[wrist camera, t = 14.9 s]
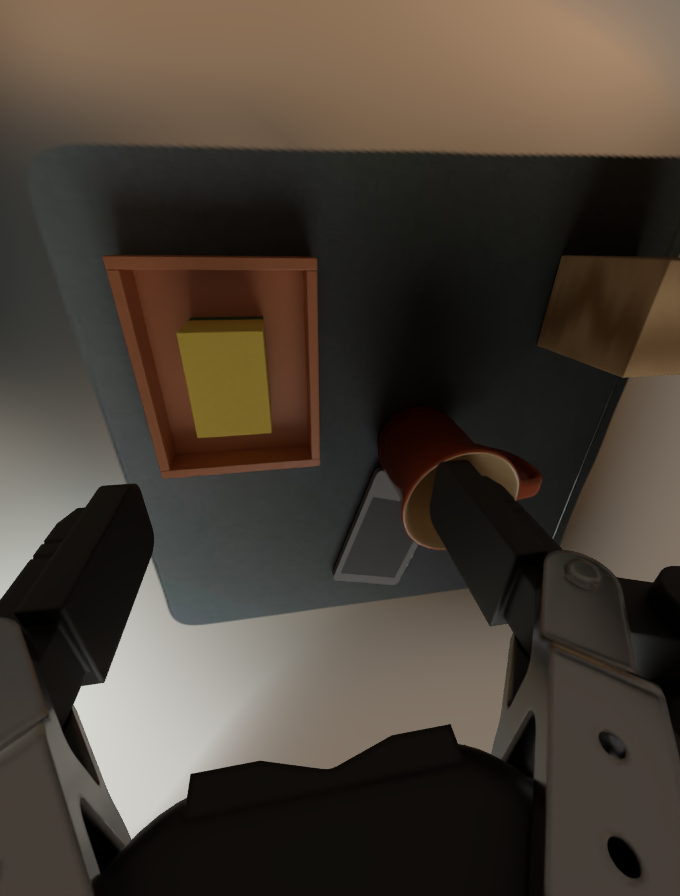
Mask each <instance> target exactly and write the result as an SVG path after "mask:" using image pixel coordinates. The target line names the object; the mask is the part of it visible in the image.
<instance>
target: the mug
mask: <svg viewBox="0 0 680 896" xmlns="http://www.w3.org/2000/svg"><path fill="white" fill-rule="evenodd" d="M378 455H379V459H380V463H381V466H382V468H383V470H384V472H385V473H386V475H387V477H388V478H389V480H390V482H391V484H392V485H393V487H394V489H395V490H396V492H397V493H398V495H399V498H400V504H401V518H402V523H403V527H404V529H405V531H406V533H407V534H408V535H409V537H410V538H411V539H412V540H413V541H415V542H416V543H417V544H419V545H421V546H423V547H426V548H430V549H435V550H447V549H446V548H445V546H444V544H443V542H442V540H441V539H440V537H439V535H438V533H437V532H436V530H435V528H434V526H433V524H432V521H431V517H430V501H431V496H432V491H433V485H434V480H435V474H436V469H437V466H438V464H439V463H440V462H445V461H459V460H467V461H469V462H470V463H471V464H472V465H473V466H474V467H475V468H476V470H477V471H478V472H479V473H480V474H481V475H482V476H487V477H489V478H491V479H492V480H494V481H496V482H497V483H499V484H501V485H502V486H503V487H504V488H505V489H506V490H507V491H508V492H509V493H510V494H511V495H512V496H513V497H514V498H515V501H517V500H519V499H523V498H529V497H532V496H534V495H536V494H537V493H538V491H539V490H540V487H541V484H542V475H541V474H540V472H539V471H538V470H537V469H536V468H535V467H533V466H532V465H531V464H529V463H528V462H526V461H525V460H523V459H522V458H520V457H518V456H516V455H514V454H511V453H509V452H506V451H503V450H499V449H495V448H490V447H486V446H482V445H479V444H475V443H474V442H473V441H472V440H471V439H470V438H469V437H468V436H467V435H466V434H465V432H464V431H463V430H462V429H461V428H460V427H459V426H457V425H456V423H455V422H454V421H453V420H452V419H451V418H450V417H448V416H447V415H445V414H443V413H442V412H440V411H438V410H435V409H433V408H430V407H426V406H414V407H410V408H407V409H404V410H402V411H400V412H398V413H396V414H395V415H394V416H392V417H391V418H390V419H389V420H388V421H387V423H386V424H385V425H384V427H383V428H382V430H381V432H380V435H379V438H378Z"/></svg>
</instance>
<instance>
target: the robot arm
mask: <svg viewBox="0 0 680 896" xmlns="http://www.w3.org/2000/svg"><path fill="white" fill-rule="evenodd" d="M430 517H431V521H432V524H433V526H434V528H435V530H436V532H437V533H438V535H439V537H440V539H441V540H442V542H443V544H444V546H445V548H446V549H447V551H448V553H449V555H450V556H451V558H452V560H453V562H454V563H455V565H456V567H457V569H458V571H459V572H460V574H461V576H462V578H463V579H464V581H465V583H466V585H467V587H468V588H469V590H470V592H471V594H472V595H473V597H474V599H475V600H476V602H477V604H478V606H479V608H480V610H481V611H482V613H483V615H484V616H485V618H486V620H487V622H488V624H489V625H490V626H496V625H502V624H509V626H510V627H511V629H512V631H513V634H512V637H511V639H510V647H509V654H508V663H507V670H506V678H505V686H504V694H503V703H502V711H501V717H500V722H499V726H498V730H497V733H496V736H495V740H494V744H493V749H492V754H489V753H487V752H484V751H482V750H480V749H476V748H473V747H469V746H466V745H461V744H458V743H457V740H456V738H455V735H454V732H453V730H452V727H451V725H450V724H449V725H444V726H438V727H434V728H428V729H423V730H418V731H412V732H407V733H402V734H397V735H392V736H390V737H388V738H386V739H385V740H383V741H381V742H379V743H378V744H376V745H374V746H372V747H370V748H369V749H367V750H365V751H363V752H362V753H360V754H358V755H356V756H355V757H353V758H351V759H349V760H347V761H346V762H344V763H342V764H340V765H338V766H337V767H334V768H331V769H318V768H310V767H302V766H296V765H288V764H280V763H273V762H265V761H256V762H251V763H246V764H241V765H235V766H230V767H225V768H220V769H215V770H210V771H204V772H199V773H194V774H191V775H190V782H189V789H188V795H187V798H186V799H184V800H182V801H180V802H178V803H177V804H175V805H174V806H172V807H171V808H169V809H168V810H166V811H165V812H163V813H162V814H160V815H159V816H158V817H157V818H156V819H154V820H153V821H152V822H151V823H150V824H149V825H148V826H146V827H145V828H144V829H143V830H141V831H140V832H139V833H138V834H137V835H136V836H135V837H134V838H133V839H132V840H131V838H130V835H129V833H128V831H127V829H126V826H125V824H124V822H123V820H122V818H121V816H120V814H119V812H118V810H117V809H116V807H115V805H114V803H113V801H112V799H111V797H110V795H109V793H108V790H107V788H106V785H105V783H104V781H103V778H102V775H101V773H100V770H99V767H98V765H97V762H96V760H95V757H94V755H93V752H92V749H91V747H90V744H89V742H88V739H87V736H86V734H85V731H84V728H83V726H82V723H81V721H80V718H79V716H78V713H77V710H76V709H75V707H74V705H73V704H74V701H75V699H76V697H77V694H78V692H79V690H80V687H81V686H84V685H91V684H98V683H104V682H105V679H106V676H107V674H108V671H109V668H110V665H111V663H112V660H113V658H114V655H115V652H116V649H117V647H118V644H119V641H120V639H121V636H122V633H123V630H124V628H125V625H126V623H127V620H128V617H129V615H130V612H131V609H132V606H133V604H134V601H135V598H136V596H137V593H138V590H139V588H140V585H141V582H142V580H143V577H144V574H145V572H146V569H147V566H148V564H149V561H150V558H151V555H152V552H153V547H154V533H153V528H152V525H151V522H150V519H149V516H148V512H147V509H146V506H145V503H144V500H143V497H142V493H141V490H140V488H139V486H138V485H137V484H122V485H108V486H101V487H99V489H98V490H97V491H96V493H95V494H94V496H93V497H92V498H91V500H90V502H89V503H88V504H87V506H86V507H85V508H77V509H76V510H75V511H73V512H72V513H70V514H69V515H68V516H66V517H65V518H64V519H63V520H61V521H60V522H58V523H57V524H56V526H55V527H54V528H53V530H52V531H51V532H50V534H49V535H48V537H47V538H46V539H45V541H44V542H45V543H44V544H42V545H41V546H40V547H39V549H38V550H37V551H36V553H35V554H34V555H33V559H32V560H30V561H29V562H28V563H27V565H26V566H25V567H24V569H23V570H22V571H21V573H20V574H19V576H18V577H17V578H16V580H15V581H14V582H13V584H12V585H11V586H10V588H9V589H8V590H7V592H6V593H5V594H4V596H3V597H2V598H1V600H0V896H680V566H670V567H666V568H664V569H663V570H661V572H660V573H659V575H658V576H657V578H656V579H655V581H654V582H653V583H651V582H645V581H637V580H631V579H624V578H618V577H616V576H615V575H614V574H613V573H612V572H611V571H610V570H609V569H608V568H607V567H605V566H604V565H603V564H601V563H600V562H598V561H596V560H595V559H593V558H591V557H588V556H587V555H584V554H581V553H578V552H574V551H568V550H562V549H561V547H560V546H559V545H558V544H557V543H556V542H555V541H554V540H553V539H552V538H551V537H550V536H549V535H548V534H547V533H546V531H545V530H544V529H543V528H542V527H541V526H540V525H539V524H538V523H537V522H536V521H535V520H534V519H533V518H532V516H531V515H530V514H529V513H528V512H527V511H526V512H525V511H524V508H523V507H522V506H521V505H520V504H519V503H518V501H515V498H514V497H513V496H512V495H511V494H510V493H509V492H508V491H507V490H506V489H505V488H504V487H503V486H502V485H501V484H499V483H497V482H496V481H494V480H492V479H491V478H489V477H487V476H482V475H481V474H480V473H479V472H478V471H477V470H476V468H475V467H474V466H473V465H472V464H471V463H470V462H469V461H467V460H459V461H445V462H440V463H439V464H438V466H437V469H436V474H435V480H434V485H433V491H432V496H431V501H430Z"/></svg>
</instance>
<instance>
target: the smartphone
mask: <svg viewBox="0 0 680 896" xmlns="http://www.w3.org/2000/svg"><path fill="white" fill-rule="evenodd" d="M417 546H418V544H417V543H416V542H415V541H413V540H412V539H411V538H410V537H409V535H408V534H407V533H406V531H405V529H404V527H403V523H402V518H401V504H400V498H399V495H398V493H397V492H396V490H395V489H394V487H393V485H392V484H391V482H390V480H389V478H388V477H387V475H386V473H385V472H384V470H383V468H381V467H378V468H377V469H376V470H375V471H374V473H373V476H372V478H371V480H370V483H369V485H368V488H367V490H366V493H365V495H364V497H363V500H362V502H361V505H360V507H359V510H358V512H357V514H356V517H355V519H354V522H353V524H352V526H351V529H350V531H349V534H348V536H347V539H346V541H345V543H344V546H343V548H342V551H341V553H340V556H339V558H338V560H337V563H336V565H335V568H334V570H333V577H334V580H336V581H349V582H361V583H374V584H386V585H396V584H397V583H398V582H399V580H400V578H401V576H402V574H403V572H404V570H405V569H406V567H407V566H408V563H409V561H410V559H411V558H412V556H413V553H414V552H415V550H416V548H417Z"/></svg>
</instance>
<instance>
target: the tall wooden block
mask: <svg viewBox="0 0 680 896" xmlns="http://www.w3.org/2000/svg"><path fill="white" fill-rule="evenodd" d="M537 345H538V346H540V347H543V348H546V349H548V350H551V351H554V352H556V353H559V354H562V355H564V356H567V357H570V358H572V359H575V360H578V361H580V362H583V363H586V364H588V365H591V366H594V367H596V368H599V369H602V370H604V371H607V372H610V373H612V374H615V375H618V376H620V377H641V376H661V375H680V258H670V257H642V256H573V255H563V256H562V257H561V260H560V264H559V268H558V271H557V275H556V278H555V282H554V286H553V289H552V293H551V296H550V300H549V303H548V307H547V311H546V314H545V318H544V321H543V325H542V329H541V332H540V336H539V339H538V343H537Z"/></svg>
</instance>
